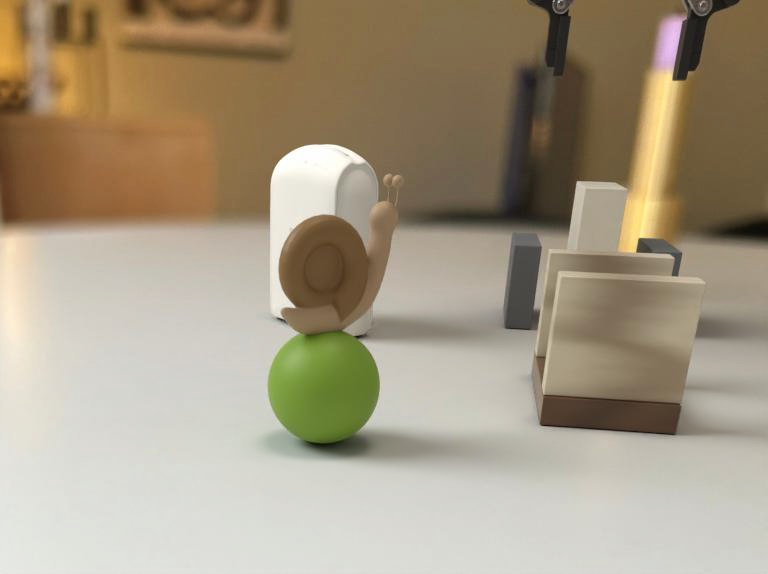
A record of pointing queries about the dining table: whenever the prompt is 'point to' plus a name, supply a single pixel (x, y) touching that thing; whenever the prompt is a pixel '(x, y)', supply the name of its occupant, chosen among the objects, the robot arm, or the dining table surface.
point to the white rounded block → (319, 204)
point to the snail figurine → (330, 323)
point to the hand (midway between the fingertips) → (617, 78)
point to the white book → (597, 216)
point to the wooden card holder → (614, 340)
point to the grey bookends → (527, 268)
